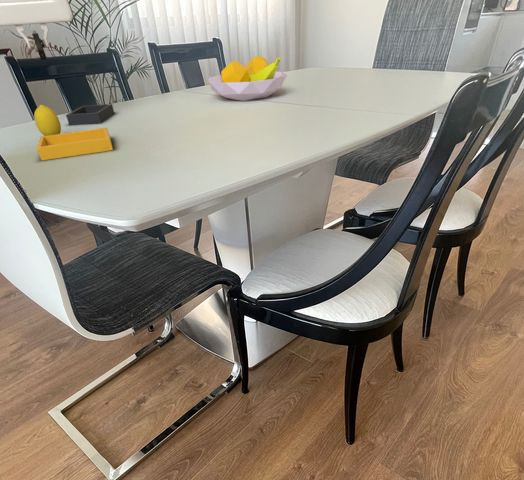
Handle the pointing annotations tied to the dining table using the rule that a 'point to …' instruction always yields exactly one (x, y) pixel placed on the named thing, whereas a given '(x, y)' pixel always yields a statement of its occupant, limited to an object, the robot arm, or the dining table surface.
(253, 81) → the fruit bowl
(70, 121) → the dark tray
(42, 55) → the lighter
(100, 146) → the yellow tray
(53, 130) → the lemon
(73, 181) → the dining table surface
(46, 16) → the robot arm
